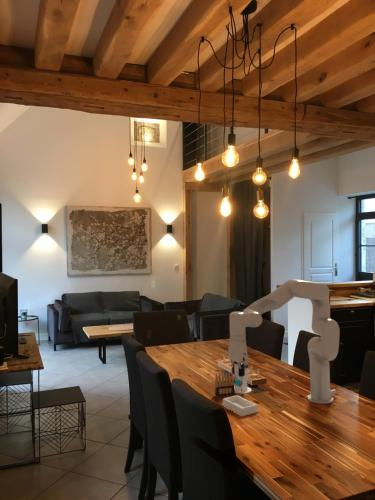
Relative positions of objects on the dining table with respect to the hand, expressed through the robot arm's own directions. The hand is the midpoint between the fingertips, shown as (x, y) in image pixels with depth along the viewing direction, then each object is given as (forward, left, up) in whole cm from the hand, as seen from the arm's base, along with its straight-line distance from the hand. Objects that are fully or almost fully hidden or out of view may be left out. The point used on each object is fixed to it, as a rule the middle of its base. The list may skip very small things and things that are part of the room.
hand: (238, 374), depth 208 cm
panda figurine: (-17, -22, -17) cm, 33 cm away
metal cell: (0, 0, -2) cm, 2 cm away
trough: (0, 0, -17) cm, 17 cm away
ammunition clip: (-5, -20, -17) cm, 27 cm away
